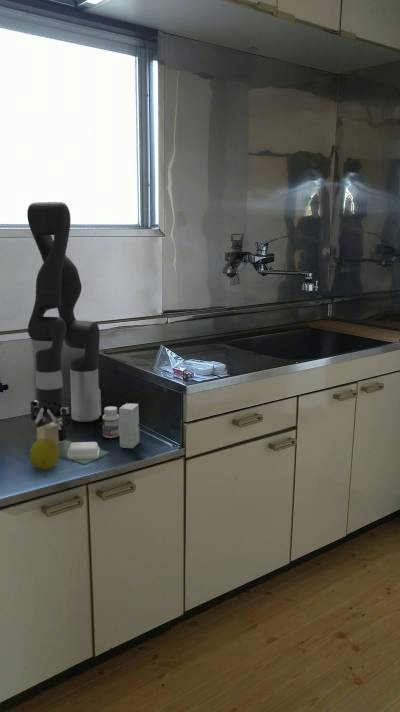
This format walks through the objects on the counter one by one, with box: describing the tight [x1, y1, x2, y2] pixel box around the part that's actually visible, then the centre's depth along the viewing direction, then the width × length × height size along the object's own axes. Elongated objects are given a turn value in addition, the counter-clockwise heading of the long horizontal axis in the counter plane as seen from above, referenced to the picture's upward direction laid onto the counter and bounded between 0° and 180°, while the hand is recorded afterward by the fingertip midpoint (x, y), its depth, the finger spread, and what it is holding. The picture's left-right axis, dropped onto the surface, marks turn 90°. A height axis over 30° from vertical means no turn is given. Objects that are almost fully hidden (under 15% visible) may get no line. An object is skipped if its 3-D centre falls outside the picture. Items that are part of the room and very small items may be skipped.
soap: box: [67, 441, 101, 459], centre depth 170 cm, size 9×7×3 cm
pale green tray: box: [36, 421, 110, 466], centre depth 173 cm, size 10×20×6 cm, turn 58°
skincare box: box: [118, 402, 140, 449], centre depth 178 cm, size 6×4×12 cm
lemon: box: [29, 438, 60, 471], centre depth 161 cm, size 11×8×8 cm
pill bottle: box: [101, 406, 120, 439], centre depth 186 cm, size 5×5×9 cm
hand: (51, 437), depth 177 cm, fingers open, 8 cm apart
